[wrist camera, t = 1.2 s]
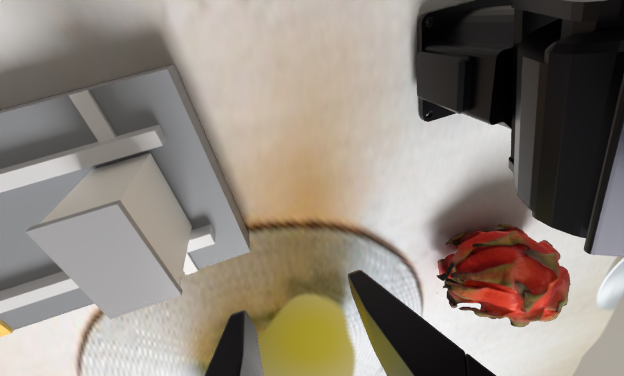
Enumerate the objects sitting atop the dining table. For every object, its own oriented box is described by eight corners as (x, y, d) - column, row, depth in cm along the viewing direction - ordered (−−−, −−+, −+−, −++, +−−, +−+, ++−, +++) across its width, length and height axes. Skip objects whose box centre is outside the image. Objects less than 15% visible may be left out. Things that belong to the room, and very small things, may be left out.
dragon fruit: (507, 243, 32) (406, 232, 30) (587, 217, 25) (461, 199, 23) (529, 329, 28) (416, 322, 26) (632, 328, 21) (485, 318, 19)
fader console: (174, 63, 15) (162, 71, 13) (248, 233, 22) (251, 262, 19) (-304, 190, 13) (-429, 229, 11) (-68, 336, 20) (-113, 383, 17)
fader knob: (151, 150, 15) (117, 204, 11) (194, 226, 18) (181, 294, 13) (87, 168, 15) (25, 231, 10) (141, 243, 17) (110, 318, 13)
